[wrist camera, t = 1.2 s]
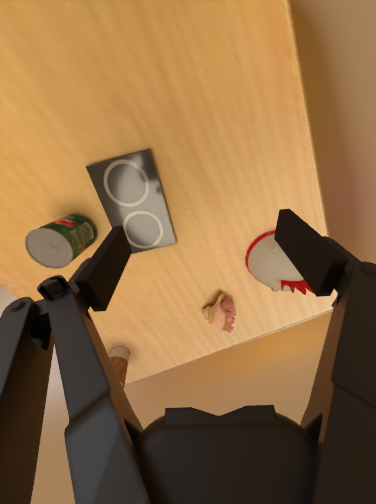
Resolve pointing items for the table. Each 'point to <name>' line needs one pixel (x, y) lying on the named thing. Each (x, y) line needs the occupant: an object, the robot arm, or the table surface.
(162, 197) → the hob
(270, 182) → the table surface
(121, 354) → the coffee cup
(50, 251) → the canned tomato
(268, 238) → the kitchen timer
